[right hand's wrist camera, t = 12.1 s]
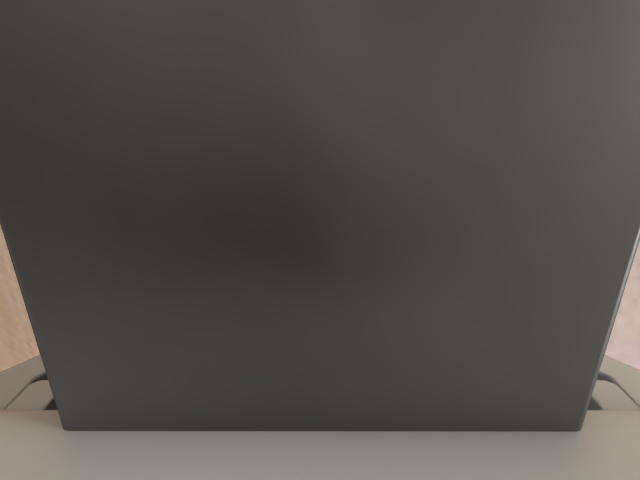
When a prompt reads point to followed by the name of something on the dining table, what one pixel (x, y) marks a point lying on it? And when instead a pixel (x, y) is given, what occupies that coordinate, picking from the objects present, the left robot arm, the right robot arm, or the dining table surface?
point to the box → (321, 208)
